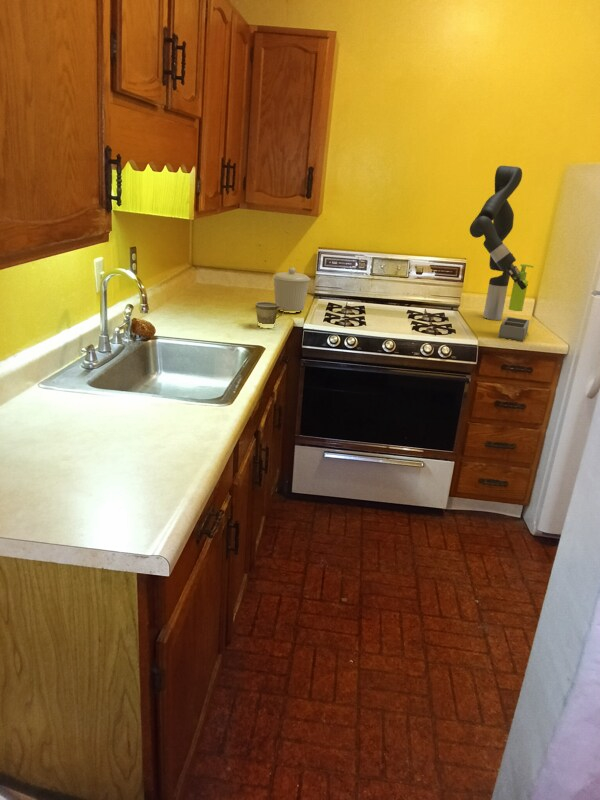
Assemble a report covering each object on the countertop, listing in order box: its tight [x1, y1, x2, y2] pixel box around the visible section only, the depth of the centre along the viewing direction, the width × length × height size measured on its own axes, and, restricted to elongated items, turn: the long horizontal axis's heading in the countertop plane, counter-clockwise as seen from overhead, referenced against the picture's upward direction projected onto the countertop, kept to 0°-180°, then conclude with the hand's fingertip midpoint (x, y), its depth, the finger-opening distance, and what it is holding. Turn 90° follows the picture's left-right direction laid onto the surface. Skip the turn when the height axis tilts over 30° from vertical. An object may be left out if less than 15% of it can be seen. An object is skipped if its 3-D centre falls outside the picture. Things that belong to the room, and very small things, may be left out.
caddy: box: [497, 316, 530, 343], centre depth 283 cm, size 21×10×6 cm, turn 155°
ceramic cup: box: [255, 301, 285, 324], centre depth 265 cm, size 13×10×10 cm
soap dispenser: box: [508, 263, 534, 312], centre depth 272 cm, size 6×7×20 cm
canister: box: [272, 267, 312, 312], centre depth 296 cm, size 18×18×21 cm
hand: (525, 287), depth 271 cm, fingers closed on soap dispenser, 6 cm apart
